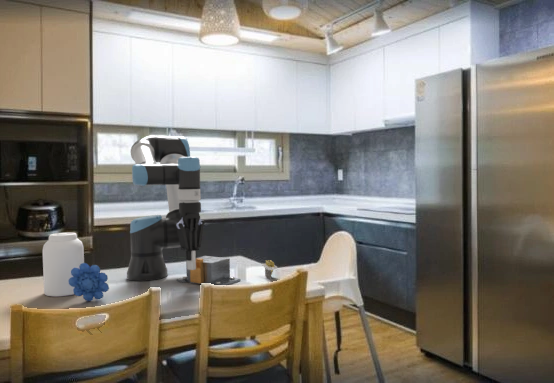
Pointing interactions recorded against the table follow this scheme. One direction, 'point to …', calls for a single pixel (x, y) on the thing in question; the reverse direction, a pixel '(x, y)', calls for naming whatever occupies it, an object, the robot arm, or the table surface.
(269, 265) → the potted plant
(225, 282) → the bracket
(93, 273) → the blue rosette flower
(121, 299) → the table surface
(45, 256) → the white jar
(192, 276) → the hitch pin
